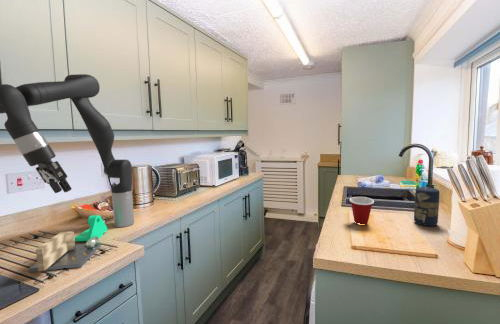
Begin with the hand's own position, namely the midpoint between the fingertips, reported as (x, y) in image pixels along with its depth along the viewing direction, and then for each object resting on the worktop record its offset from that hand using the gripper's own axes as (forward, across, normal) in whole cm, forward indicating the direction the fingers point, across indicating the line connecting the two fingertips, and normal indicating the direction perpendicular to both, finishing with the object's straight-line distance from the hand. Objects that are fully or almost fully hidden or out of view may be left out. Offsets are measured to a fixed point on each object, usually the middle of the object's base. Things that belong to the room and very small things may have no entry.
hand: (63, 191), depth 90 cm
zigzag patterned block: (+21, +11, +10) cm, 26 cm away
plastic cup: (+69, -69, -77) cm, 125 cm away
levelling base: (+24, +12, +7) cm, 28 cm away
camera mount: (+28, +26, -7) cm, 39 cm away
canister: (+78, -94, -91) cm, 152 cm away
